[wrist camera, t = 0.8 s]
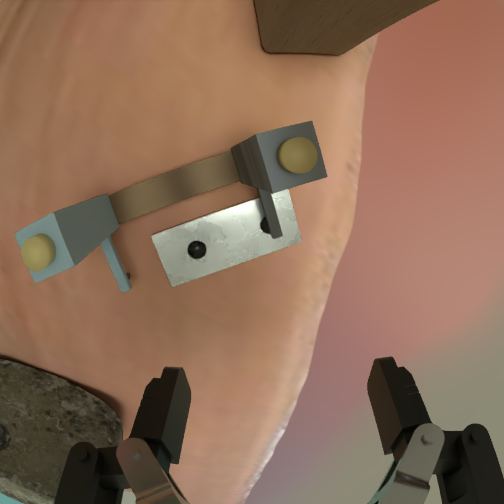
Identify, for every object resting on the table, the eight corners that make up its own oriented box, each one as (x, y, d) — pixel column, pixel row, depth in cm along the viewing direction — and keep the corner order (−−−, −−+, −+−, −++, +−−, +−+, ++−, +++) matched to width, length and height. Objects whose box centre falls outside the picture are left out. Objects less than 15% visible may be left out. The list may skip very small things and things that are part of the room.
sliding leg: (116, 287, 30) (72, 370, 16) (82, 204, 27) (4, 237, 13) (144, 277, 30) (114, 359, 16) (111, 192, 27) (44, 215, 13)
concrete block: (129, 394, 35) (111, 518, 16) (125, 430, 37) (114, 539, 18) (-24, 336, 28) (-88, 415, 10) (-15, 377, 30) (-63, 456, 11)
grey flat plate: (172, 284, 32) (171, 287, 31) (152, 234, 30) (151, 236, 29) (299, 239, 34) (302, 241, 33) (285, 188, 32) (288, 189, 31)
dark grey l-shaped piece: (110, 286, 31) (61, 371, 16) (77, 207, 28) (-6, 244, 13) (294, 221, 33) (372, 266, 18) (270, 137, 30) (339, 114, 15)
